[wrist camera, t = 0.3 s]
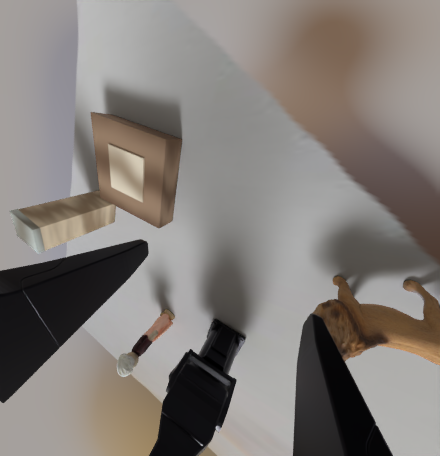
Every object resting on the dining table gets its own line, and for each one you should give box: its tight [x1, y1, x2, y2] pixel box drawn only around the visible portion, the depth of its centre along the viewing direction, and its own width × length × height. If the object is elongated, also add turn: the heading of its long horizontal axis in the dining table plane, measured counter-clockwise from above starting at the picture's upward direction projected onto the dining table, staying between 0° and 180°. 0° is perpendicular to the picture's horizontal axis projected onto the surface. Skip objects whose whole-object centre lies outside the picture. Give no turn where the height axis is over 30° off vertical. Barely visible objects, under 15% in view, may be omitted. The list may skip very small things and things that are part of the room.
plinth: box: [91, 112, 182, 228], centre depth 26 cm, size 12×12×3 cm
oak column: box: [10, 191, 116, 254], centre depth 30 cm, size 5×5×12 cm
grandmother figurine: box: [117, 309, 175, 377], centre depth 36 cm, size 8×4×13 cm, turn 150°
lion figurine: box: [313, 276, 440, 365], centre depth 17 cm, size 15×5×9 cm, turn 113°
